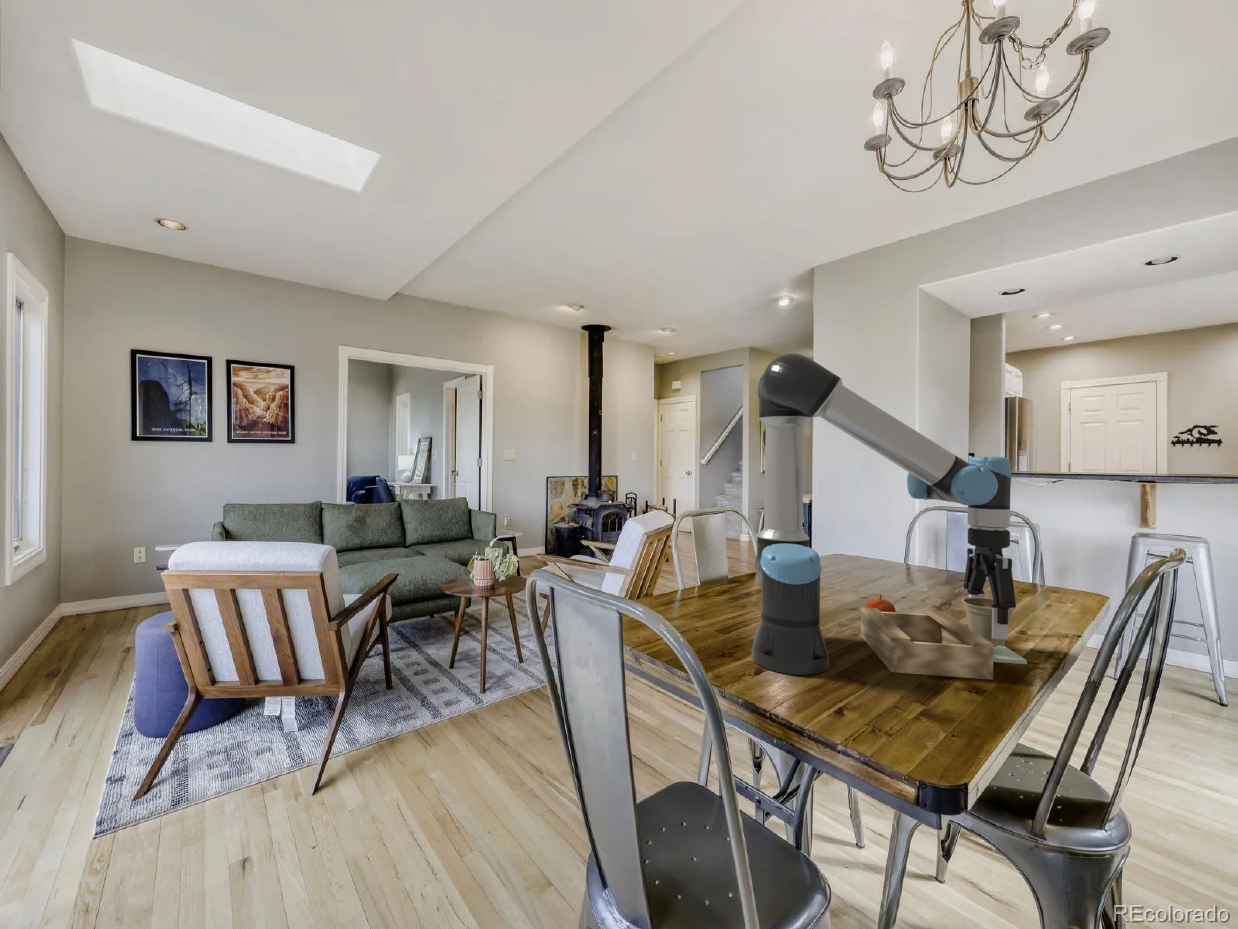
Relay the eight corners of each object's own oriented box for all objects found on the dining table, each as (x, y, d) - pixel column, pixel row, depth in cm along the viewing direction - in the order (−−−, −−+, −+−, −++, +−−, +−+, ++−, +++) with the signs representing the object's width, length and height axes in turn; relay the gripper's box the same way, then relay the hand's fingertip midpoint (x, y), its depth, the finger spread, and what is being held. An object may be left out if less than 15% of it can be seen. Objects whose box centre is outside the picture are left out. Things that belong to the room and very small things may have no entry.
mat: (973, 660, 109) (973, 656, 109) (951, 644, 119) (951, 640, 119) (1026, 664, 107) (1026, 660, 107) (1000, 647, 117) (1000, 643, 117)
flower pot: (1024, 652, 107) (1024, 610, 107) (973, 648, 109) (973, 607, 109) (1000, 637, 117) (1001, 599, 117) (954, 634, 119) (954, 596, 119)
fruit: (868, 620, 137) (868, 589, 137) (897, 625, 133) (898, 594, 133) (862, 627, 131) (862, 595, 131) (893, 632, 127) (893, 599, 127)
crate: (891, 672, 103) (891, 637, 103) (860, 635, 124) (860, 607, 124) (992, 679, 99) (993, 644, 99) (943, 641, 121) (943, 611, 121)
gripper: (1039, 535, 101) (1037, 650, 101) (982, 522, 123) (981, 617, 123) (996, 534, 103) (995, 647, 103) (947, 521, 124) (946, 615, 124)
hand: (987, 631), depth 113 cm, fingers closed on flower pot, 9 cm apart
